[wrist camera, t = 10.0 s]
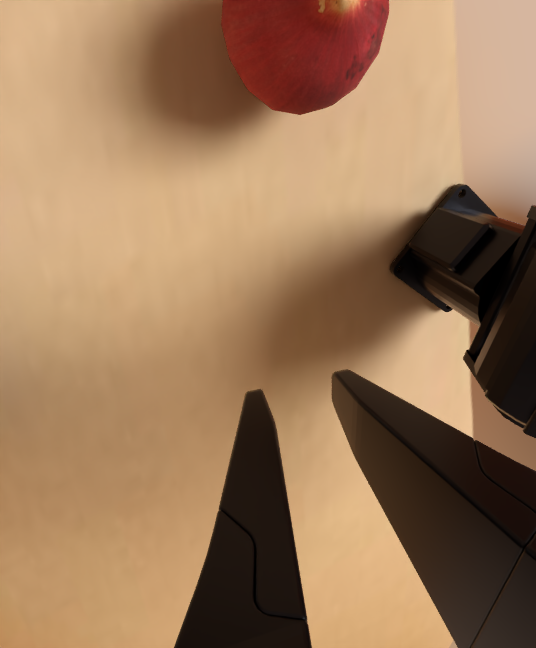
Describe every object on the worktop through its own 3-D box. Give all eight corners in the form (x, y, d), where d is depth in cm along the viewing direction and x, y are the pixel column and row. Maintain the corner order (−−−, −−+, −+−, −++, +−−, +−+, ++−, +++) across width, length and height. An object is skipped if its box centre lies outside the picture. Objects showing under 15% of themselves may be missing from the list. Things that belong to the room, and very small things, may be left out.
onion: (328, -66, 15) (461, -220, 8) (345, 95, 18) (451, 83, 11) (193, -31, 14) (213, -162, 8) (234, 128, 17) (274, 136, 11)
